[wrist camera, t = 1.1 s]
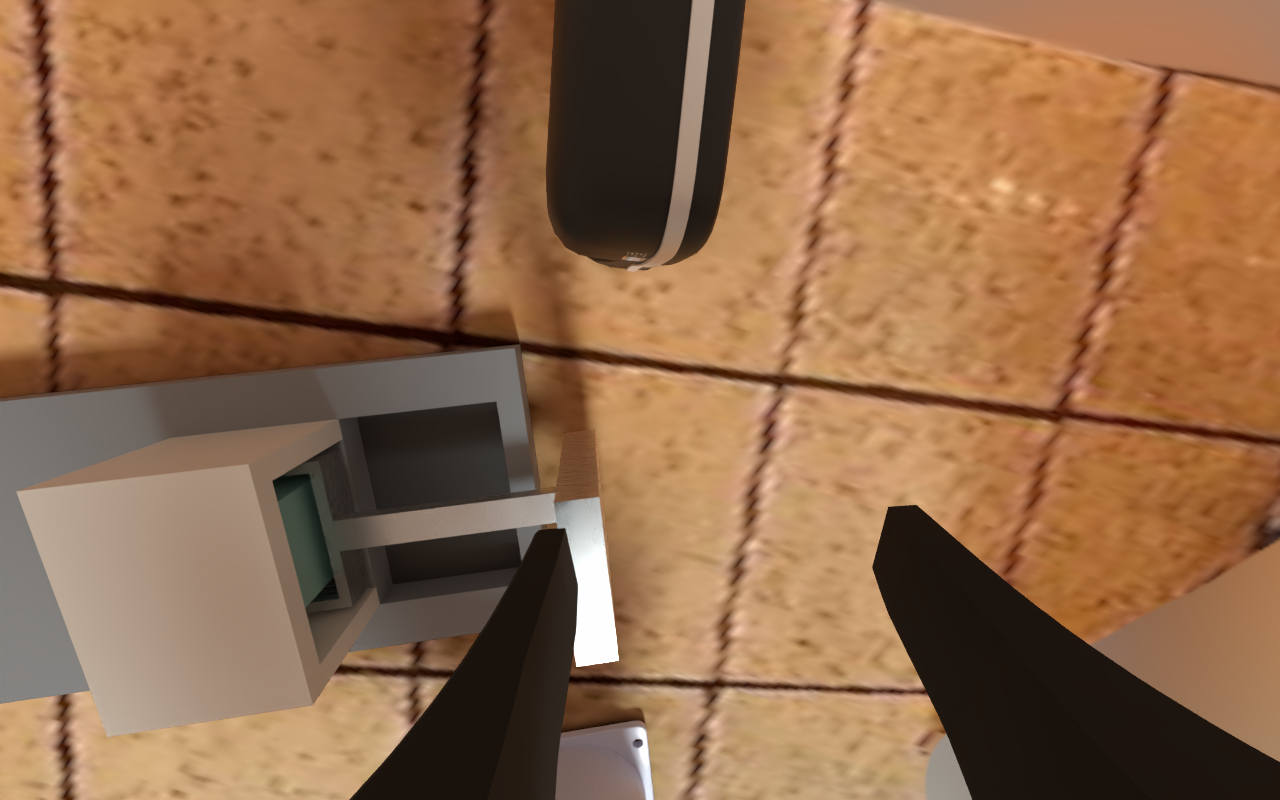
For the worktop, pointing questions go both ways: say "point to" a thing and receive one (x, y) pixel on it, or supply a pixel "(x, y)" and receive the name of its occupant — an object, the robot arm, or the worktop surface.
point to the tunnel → (189, 579)
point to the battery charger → (640, 125)
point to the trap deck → (370, 449)
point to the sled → (565, 504)
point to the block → (304, 533)
